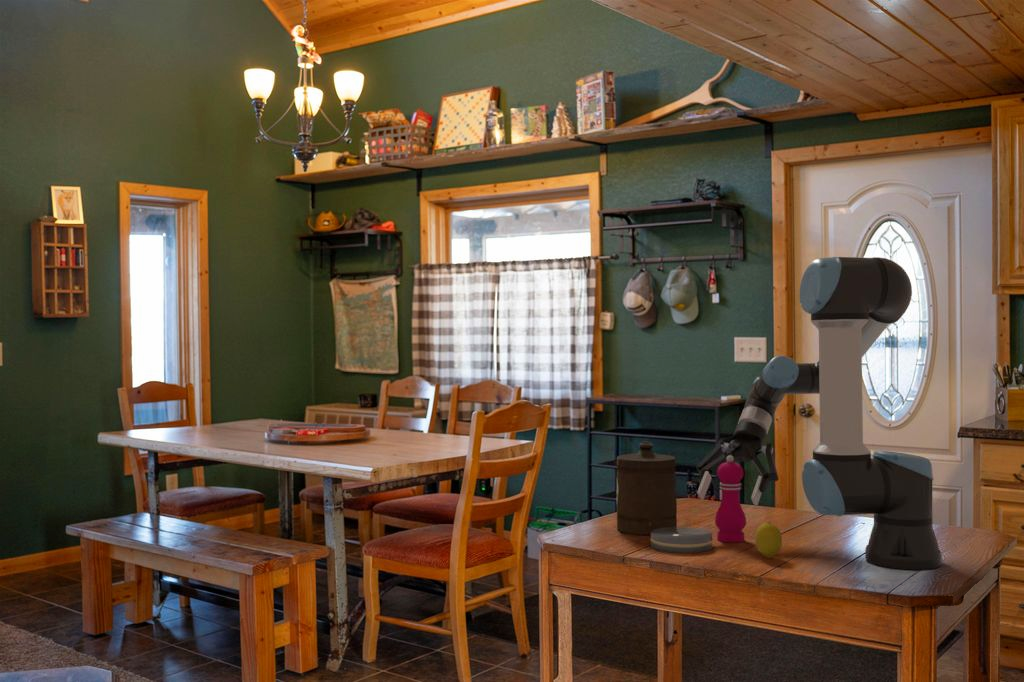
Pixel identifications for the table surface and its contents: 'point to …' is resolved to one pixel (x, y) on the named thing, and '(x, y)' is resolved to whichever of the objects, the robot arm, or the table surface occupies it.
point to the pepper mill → (730, 503)
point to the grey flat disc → (681, 539)
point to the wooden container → (646, 491)
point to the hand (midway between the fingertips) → (726, 499)
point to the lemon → (768, 539)
